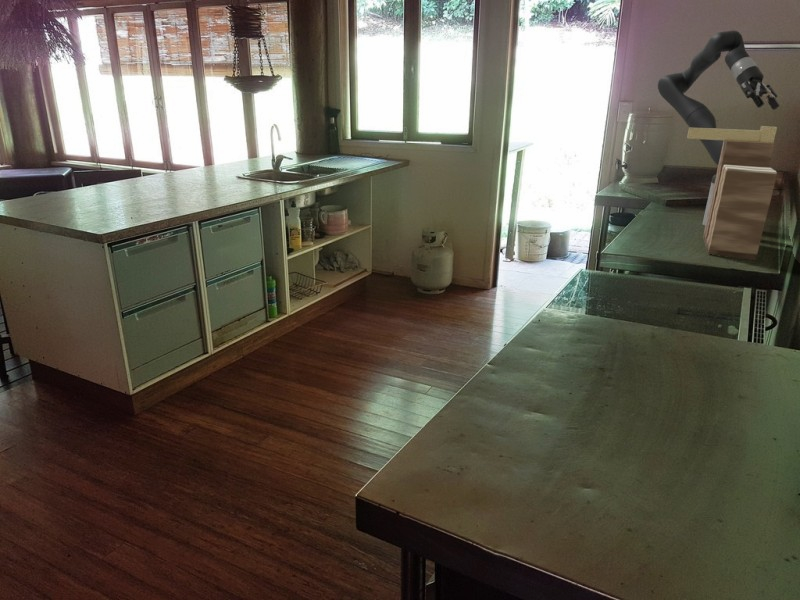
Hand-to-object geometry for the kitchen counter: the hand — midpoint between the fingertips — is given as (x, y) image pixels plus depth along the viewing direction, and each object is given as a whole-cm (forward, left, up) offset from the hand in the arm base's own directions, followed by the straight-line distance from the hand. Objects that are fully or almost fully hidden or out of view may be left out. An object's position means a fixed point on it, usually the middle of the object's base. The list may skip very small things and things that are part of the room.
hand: (769, 107), depth 201 cm
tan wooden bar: (+10, -15, -11) cm, 21 cm away
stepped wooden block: (+19, -11, -47) cm, 52 cm away
